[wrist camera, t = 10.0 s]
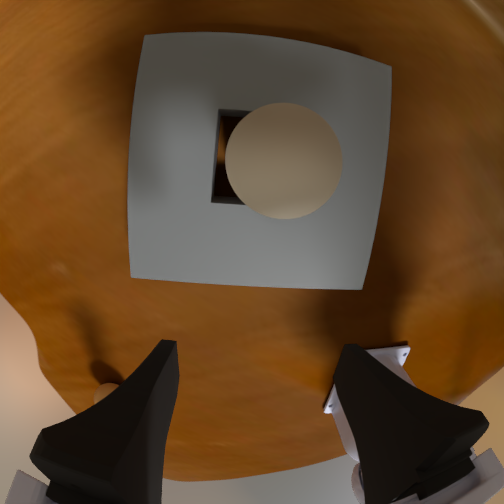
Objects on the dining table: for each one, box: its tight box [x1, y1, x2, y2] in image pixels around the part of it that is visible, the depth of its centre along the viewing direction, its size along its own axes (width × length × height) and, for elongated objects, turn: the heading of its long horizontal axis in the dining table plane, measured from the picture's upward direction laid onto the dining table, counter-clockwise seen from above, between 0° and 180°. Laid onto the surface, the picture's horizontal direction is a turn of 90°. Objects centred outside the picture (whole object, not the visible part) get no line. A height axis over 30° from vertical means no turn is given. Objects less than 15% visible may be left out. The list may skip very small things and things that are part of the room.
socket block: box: [128, 32, 392, 290], centre depth 17 cm, size 16×16×3 cm
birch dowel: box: [225, 103, 343, 219], centre depth 13 cm, size 4×4×10 cm
